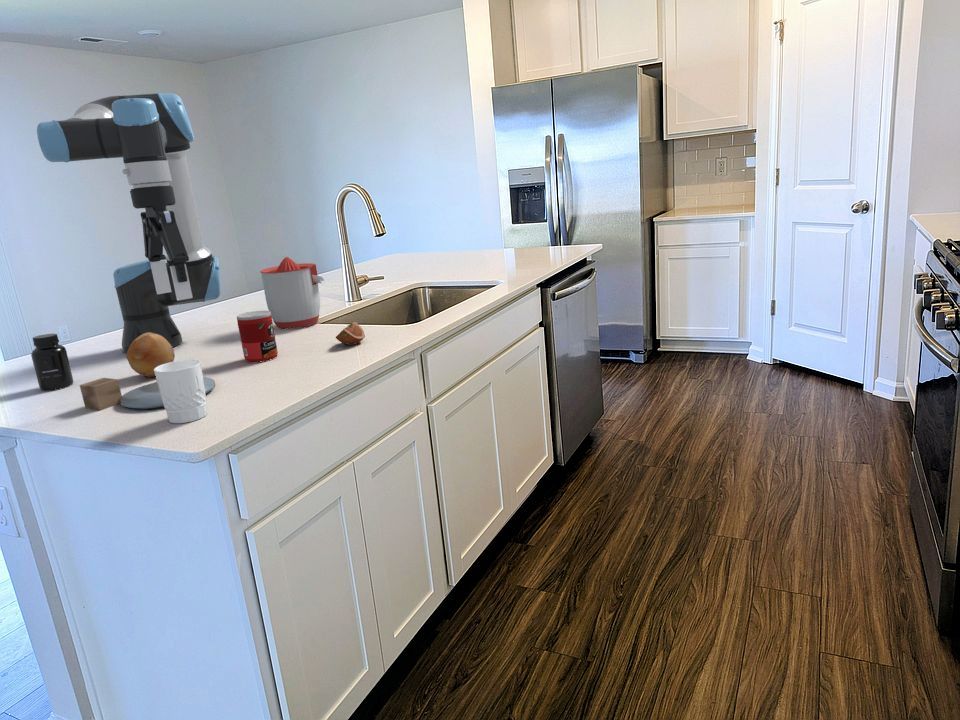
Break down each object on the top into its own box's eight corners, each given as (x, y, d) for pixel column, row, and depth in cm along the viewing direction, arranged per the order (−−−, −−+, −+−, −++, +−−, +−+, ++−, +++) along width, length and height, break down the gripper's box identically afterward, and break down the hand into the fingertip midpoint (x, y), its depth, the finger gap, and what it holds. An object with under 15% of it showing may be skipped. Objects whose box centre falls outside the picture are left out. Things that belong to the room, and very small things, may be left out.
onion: (132, 374, 162) (123, 333, 159) (178, 366, 166) (169, 326, 163) (130, 384, 153) (120, 341, 151) (178, 376, 157) (169, 333, 154)
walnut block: (85, 408, 139) (79, 385, 138) (108, 400, 143) (103, 377, 142) (100, 411, 136) (94, 387, 135) (123, 402, 141) (117, 379, 139)
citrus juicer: (323, 328, 193) (312, 257, 188) (262, 333, 194) (250, 262, 189) (335, 316, 208) (325, 250, 203) (279, 321, 209) (267, 255, 204)
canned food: (269, 362, 162) (260, 316, 159) (238, 363, 163) (229, 318, 160) (284, 353, 169) (276, 309, 166) (254, 354, 170) (246, 311, 167)
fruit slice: (357, 348, 167) (354, 328, 166) (331, 349, 169) (328, 329, 168) (369, 339, 175) (366, 320, 174) (344, 340, 177) (342, 321, 175)
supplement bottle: (49, 392, 153) (35, 340, 150) (34, 390, 157) (20, 338, 153) (80, 383, 158) (67, 332, 155) (64, 381, 162) (51, 331, 159)
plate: (111, 399, 143) (110, 393, 143) (199, 377, 154) (197, 371, 154) (135, 417, 130) (133, 411, 129) (228, 392, 141) (227, 386, 140)
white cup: (174, 412, 131) (162, 361, 128) (216, 407, 131) (206, 357, 128) (158, 427, 123) (146, 373, 120) (203, 422, 124) (192, 368, 121)
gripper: (114, 189, 138) (137, 293, 144) (147, 185, 119) (173, 305, 125) (153, 186, 142) (174, 287, 148) (191, 181, 124) (214, 298, 129)
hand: (174, 296), depth 137 cm, fingers open, 13 cm apart
